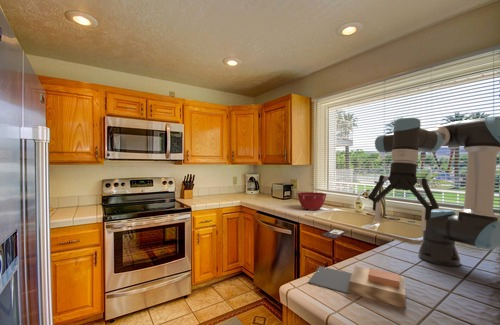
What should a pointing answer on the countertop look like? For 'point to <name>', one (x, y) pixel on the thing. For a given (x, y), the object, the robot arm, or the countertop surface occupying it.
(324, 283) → the mat
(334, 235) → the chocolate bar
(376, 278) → the tile
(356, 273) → the board
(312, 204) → the mixing bowl
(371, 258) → the countertop surface
